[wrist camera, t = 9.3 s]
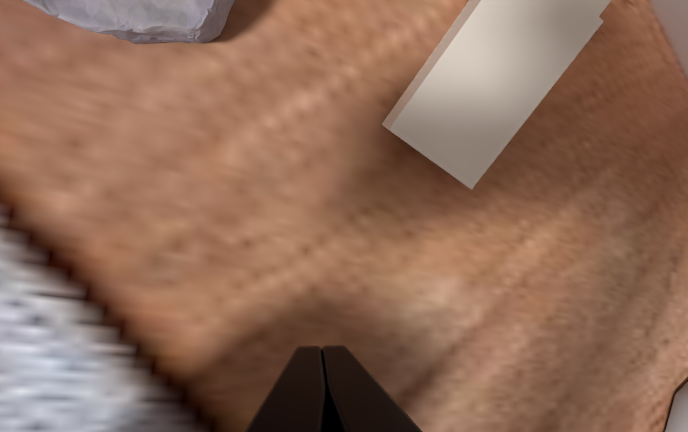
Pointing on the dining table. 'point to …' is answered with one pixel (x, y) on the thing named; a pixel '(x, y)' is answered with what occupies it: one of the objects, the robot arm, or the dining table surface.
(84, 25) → the stone block
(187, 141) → the dining table surface
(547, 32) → the domino
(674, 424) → the flask
